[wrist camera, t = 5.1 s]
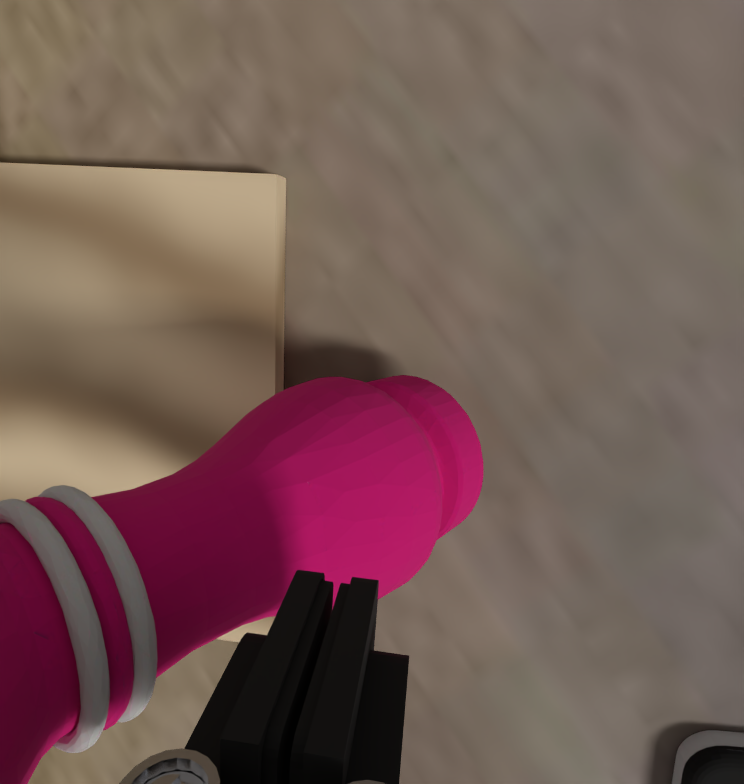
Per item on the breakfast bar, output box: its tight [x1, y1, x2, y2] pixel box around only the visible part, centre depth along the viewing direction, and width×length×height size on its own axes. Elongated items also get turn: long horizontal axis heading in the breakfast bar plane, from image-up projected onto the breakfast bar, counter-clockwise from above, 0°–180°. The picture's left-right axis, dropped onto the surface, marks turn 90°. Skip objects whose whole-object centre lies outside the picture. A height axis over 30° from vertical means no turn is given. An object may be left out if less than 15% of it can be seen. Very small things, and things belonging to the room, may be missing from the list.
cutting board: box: [0, 163, 286, 642], centre depth 23 cm, size 20×16×1 cm
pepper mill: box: [0, 375, 483, 784], centre depth 13 cm, size 7×7×20 cm
